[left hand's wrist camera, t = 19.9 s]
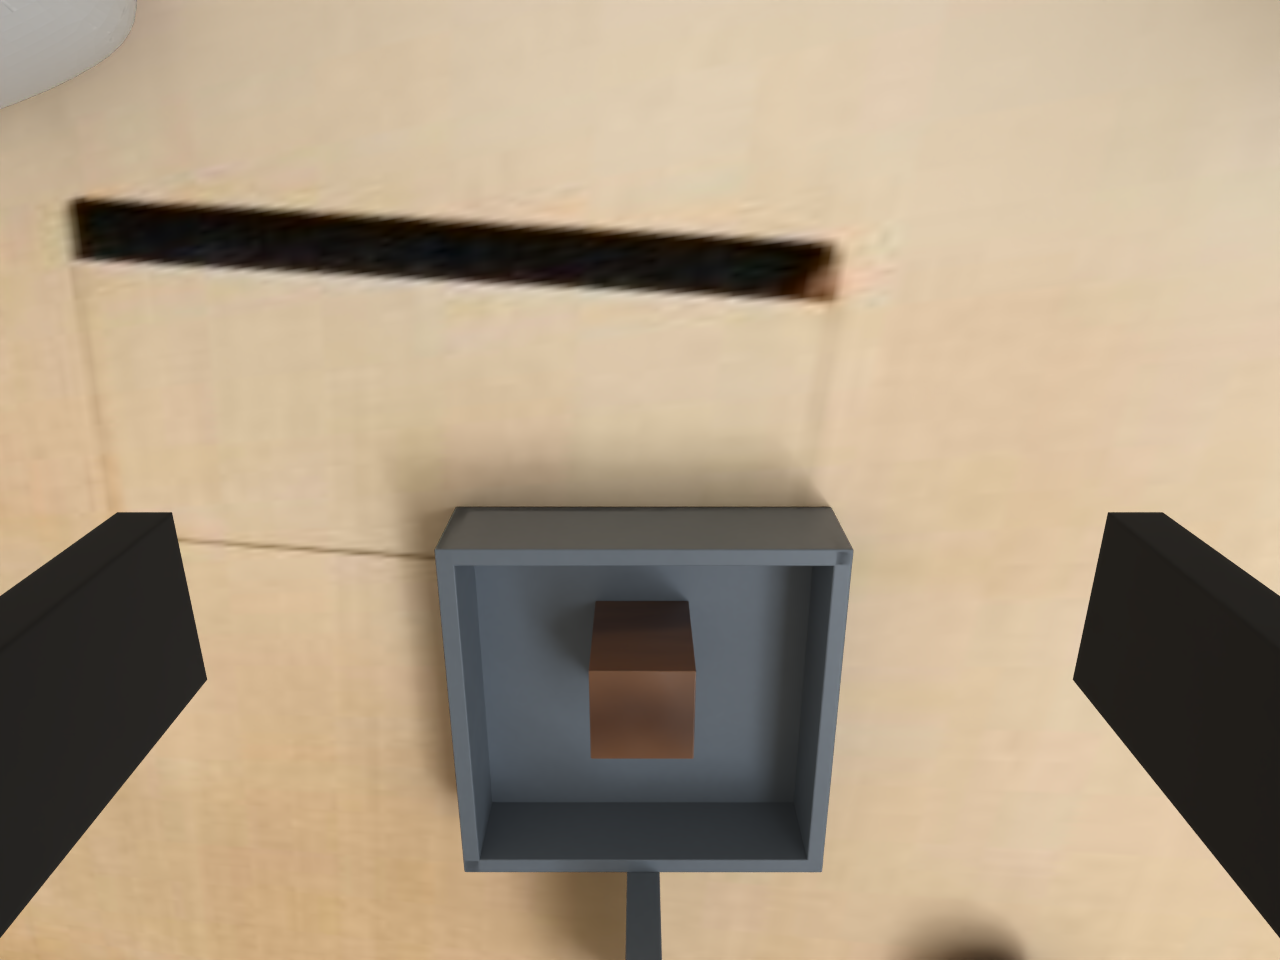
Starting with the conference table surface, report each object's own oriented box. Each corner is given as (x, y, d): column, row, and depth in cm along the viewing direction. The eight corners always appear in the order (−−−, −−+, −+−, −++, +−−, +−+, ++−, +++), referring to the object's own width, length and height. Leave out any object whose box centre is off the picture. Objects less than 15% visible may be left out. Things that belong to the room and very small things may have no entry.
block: (595, 600, 42) (588, 671, 37) (688, 600, 42) (696, 671, 37) (596, 680, 44) (590, 759, 38) (686, 680, 44) (693, 759, 38)
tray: (455, 506, 41) (401, 614, 32) (831, 506, 41) (888, 614, 32) (494, 980, 52) (463, 1163, 43) (790, 980, 52) (823, 1163, 43)
